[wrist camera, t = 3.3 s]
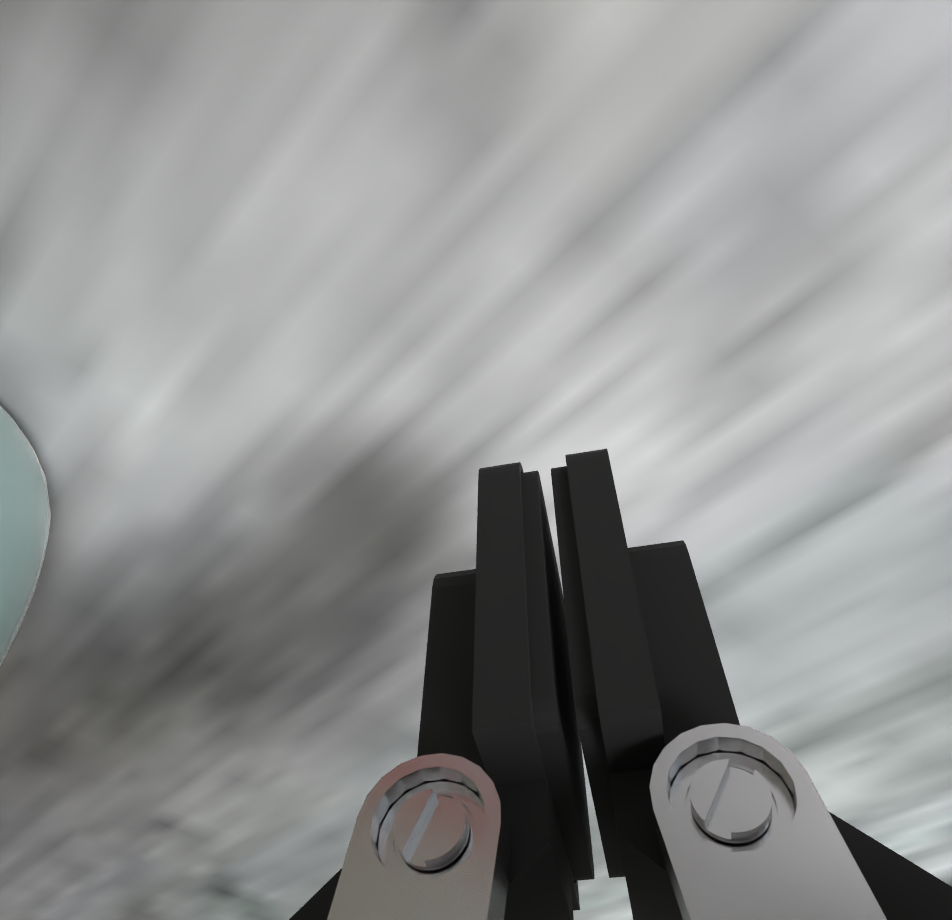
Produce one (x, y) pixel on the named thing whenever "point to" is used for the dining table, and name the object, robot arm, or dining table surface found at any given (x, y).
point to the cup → (19, 527)
